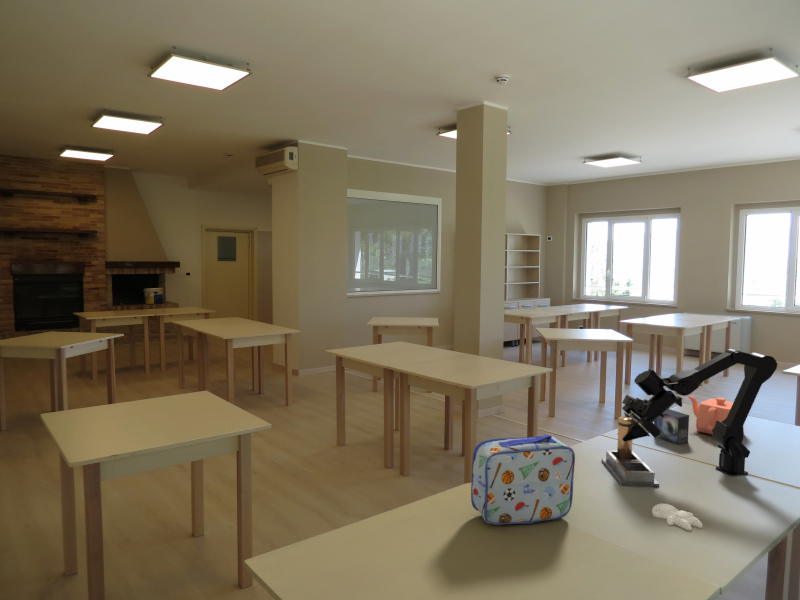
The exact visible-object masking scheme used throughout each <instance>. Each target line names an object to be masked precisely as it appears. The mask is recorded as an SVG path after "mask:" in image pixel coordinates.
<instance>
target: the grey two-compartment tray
mask: <svg viewBox="0 0 800 600" xmlns="http://www.w3.org/2000/svg"><path fill="white" fill-rule="evenodd" d="M601 462H602V464H603V465H604V466H605V467H606V469H607V470H608V472H609V473H611V475H612V476H613V477H614V479H615V480H616V481H617V482H618V484H619V485H620V486H621V487H643V488H644V487H646V488H648V487H649V488H660V483H659V482H658V481H657V479H655V472H654V471H653V469H651V468H650V466H648V465H647V464H646V463H645V461H643V459H642V458H640V457H639V455H637V454H636V453H635V451H633V450H632V460H625V459H618V458H617V450H606V455H605V458H604V457H602V458H601Z"/></svg>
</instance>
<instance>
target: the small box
mask: <svg viewBox="0 0 800 600" xmlns="http://www.w3.org/2000/svg"><path fill="white" fill-rule="evenodd" d="M663 415H664V417H663V418H661V417H659V418H657V419H656V420H655V421H654V422H653V424H654V425H655V426H656V427H657V428H658V429H659V430H660V431H661V433H660V436H659V437H657V438H658V439H661V440H663V441H667V442H669V443H671V444H675V445H683V444H687V443H689V426H690V424H689V423H690V414H686V413H684V412H680V411H677V410H673V409H670V408H669V409H668V410H666V411H665V412H664V413H663Z"/></svg>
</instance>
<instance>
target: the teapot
mask: <svg viewBox="0 0 800 600" xmlns="http://www.w3.org/2000/svg"><path fill="white" fill-rule="evenodd" d="M686 397H687V398H688V399H689V400H690V402H691V404H692V410H693V414H694V416H695V417H696V420H695V421H696V422H695V427H696V431H697V432H700V433H704V434H708V435H713V432H712V430H713V429H714V427H715V424H716V421H717V420H718V421H720V422H722V421H723V420H725V419H726V418H727V416H728V414H729V411H730V409H731V407H732V405H733V403H734V401H733V402H732V401H729V400H727V399H726V398H724V397H715V398H708V399H706V400H704V401H701V402H700V403H698V400H697V399H696V398H695V396H692V395H690V394H689V395H687V396H686Z"/></svg>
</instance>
